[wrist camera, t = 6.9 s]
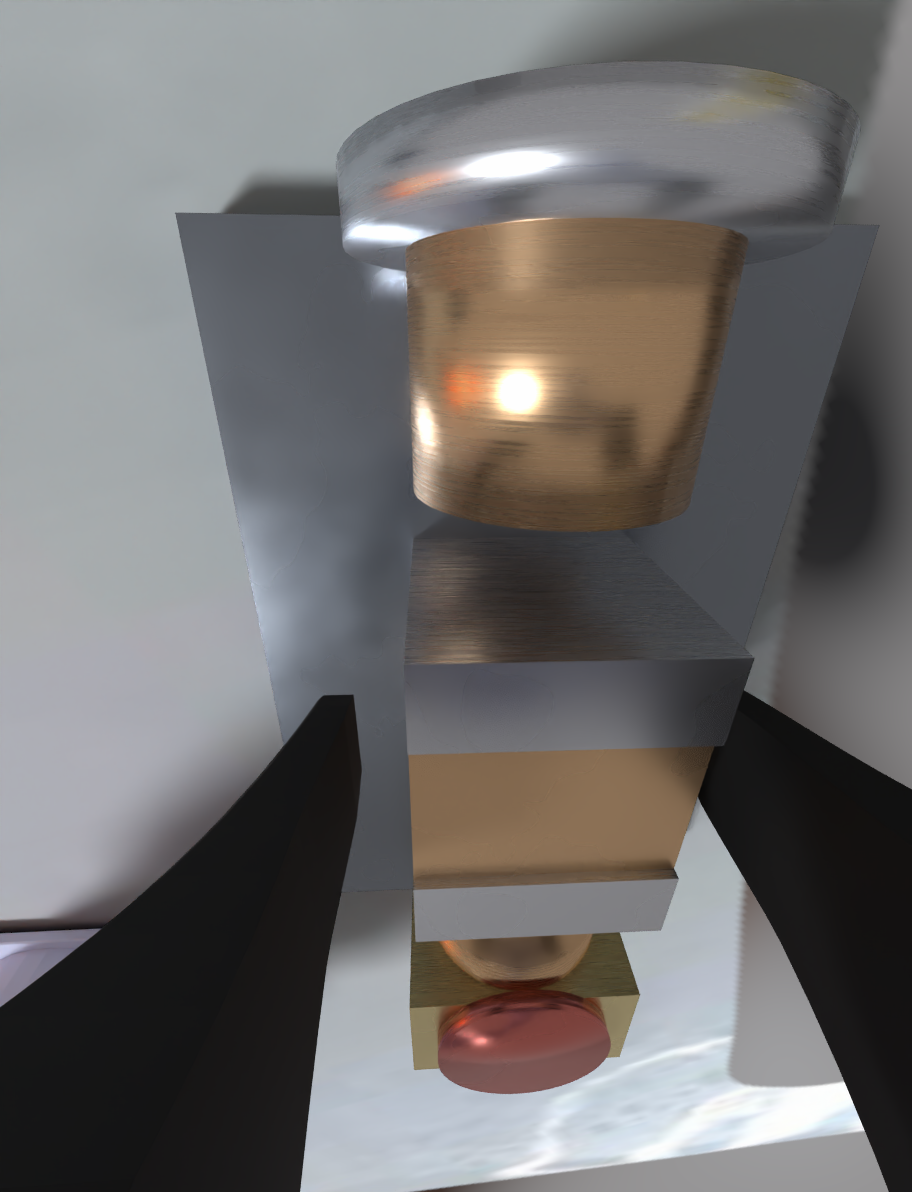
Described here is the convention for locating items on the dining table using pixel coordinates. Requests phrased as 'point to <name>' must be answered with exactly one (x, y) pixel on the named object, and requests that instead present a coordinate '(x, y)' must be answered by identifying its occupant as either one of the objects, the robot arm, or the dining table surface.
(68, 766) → the dining table surface
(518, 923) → the block
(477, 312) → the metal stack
